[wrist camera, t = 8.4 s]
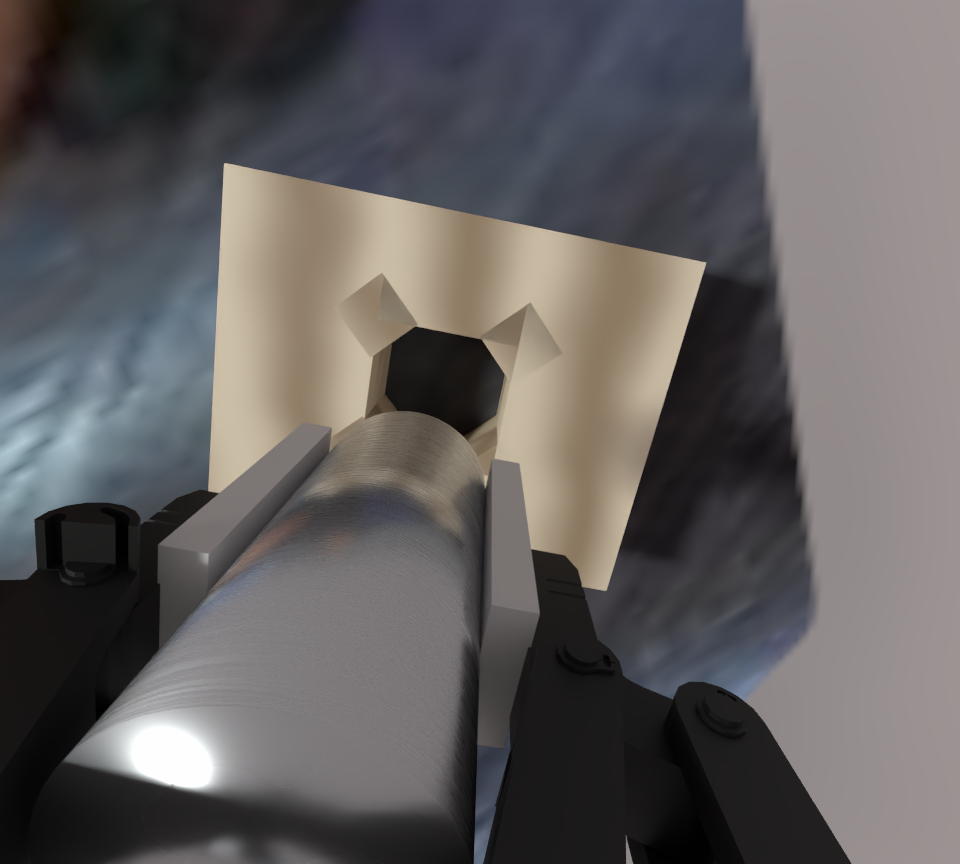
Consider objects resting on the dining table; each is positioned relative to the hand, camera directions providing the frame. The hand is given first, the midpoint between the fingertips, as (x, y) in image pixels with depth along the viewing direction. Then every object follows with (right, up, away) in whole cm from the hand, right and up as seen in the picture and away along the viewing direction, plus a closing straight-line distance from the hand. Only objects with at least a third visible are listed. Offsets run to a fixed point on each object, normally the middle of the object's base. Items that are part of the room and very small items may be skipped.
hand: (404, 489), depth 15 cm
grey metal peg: (0, 0, 0) cm, 0 cm away
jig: (0, +4, +15) cm, 15 cm away
